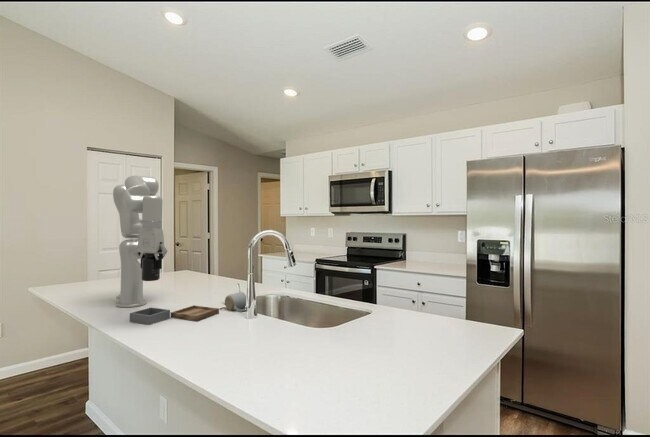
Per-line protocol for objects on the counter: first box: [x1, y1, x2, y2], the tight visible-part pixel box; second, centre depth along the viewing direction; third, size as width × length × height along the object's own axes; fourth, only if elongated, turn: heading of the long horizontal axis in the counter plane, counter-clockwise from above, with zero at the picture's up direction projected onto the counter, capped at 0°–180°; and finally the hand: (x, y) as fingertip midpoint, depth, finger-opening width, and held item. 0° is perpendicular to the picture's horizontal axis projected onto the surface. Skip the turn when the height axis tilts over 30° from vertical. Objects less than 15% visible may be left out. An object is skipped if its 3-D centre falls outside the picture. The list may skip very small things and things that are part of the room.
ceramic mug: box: [224, 291, 247, 313], centre depth 166 cm, size 11×8×8 cm
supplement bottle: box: [142, 253, 161, 282], centre depth 147 cm, size 7×7×12 cm
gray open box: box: [129, 307, 171, 326], centre depth 147 cm, size 11×11×4 cm
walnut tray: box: [170, 305, 220, 322], centre depth 155 cm, size 14×14×2 cm
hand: (151, 268), depth 147 cm, fingers closed on supplement bottle, 6 cm apart
